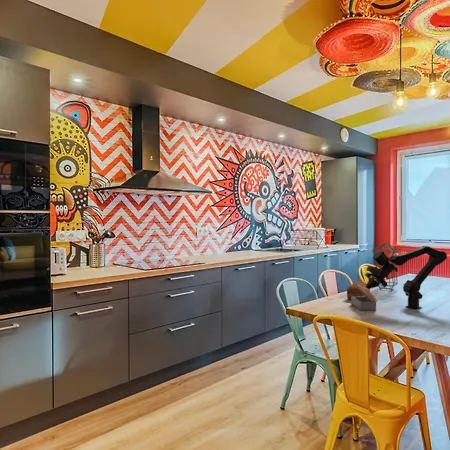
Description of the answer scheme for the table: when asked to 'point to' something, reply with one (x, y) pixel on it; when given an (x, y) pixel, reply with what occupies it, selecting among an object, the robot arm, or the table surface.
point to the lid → (367, 292)
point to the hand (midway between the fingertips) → (365, 289)
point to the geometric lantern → (388, 261)
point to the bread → (355, 290)
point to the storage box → (363, 303)
